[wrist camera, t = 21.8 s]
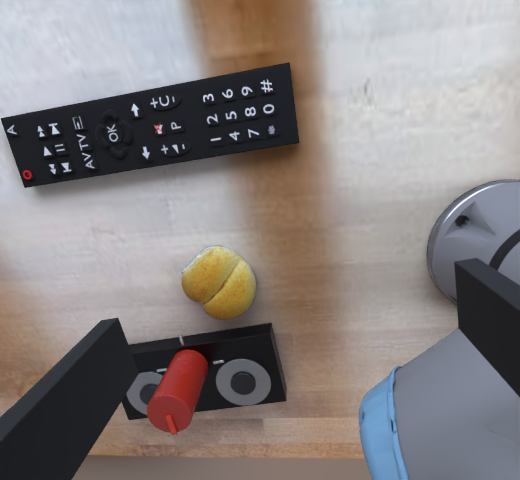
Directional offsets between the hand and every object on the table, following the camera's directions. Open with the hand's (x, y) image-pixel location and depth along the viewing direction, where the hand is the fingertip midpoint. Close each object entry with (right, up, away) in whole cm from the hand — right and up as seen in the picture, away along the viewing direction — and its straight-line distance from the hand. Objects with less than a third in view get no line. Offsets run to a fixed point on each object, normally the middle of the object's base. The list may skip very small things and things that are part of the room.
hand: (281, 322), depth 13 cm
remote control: (-13, +15, +25) cm, 32 cm away
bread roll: (-6, -2, +29) cm, 30 cm away
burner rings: (-9, -16, +31) cm, 36 cm away
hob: (-9, -14, +33) cm, 37 cm away
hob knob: (-10, -13, +30) cm, 34 cm away
